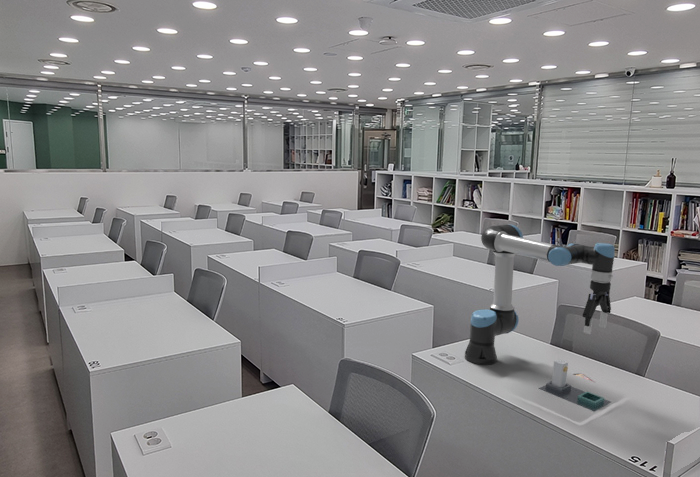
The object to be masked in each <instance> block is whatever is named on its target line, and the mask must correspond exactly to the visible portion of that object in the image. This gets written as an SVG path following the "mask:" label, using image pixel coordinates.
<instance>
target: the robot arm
mask: <svg viewBox="0 0 700 477" xmlns="http://www.w3.org/2000/svg"><path fill="white" fill-rule="evenodd" d="M480 239H481V240H480V241H481V243H482V246H484V247H485V248H486V249H487V250H490V251H492V253H493V254H494V255H495V262H494V267H495V268H494V281H493V282H494V284H493V285H494V286H493V302H492V303H491V304H490V305H489V309H488V308H487V309H486V308H485V309H478V310H477V309H476V310H475V311H473V312H472V314H471V316H470V318H471V319H470V329H469V341H468V344H467V346H466V349H465V351H464V358H465V360H466V361H468V362H469V363H473V364H476V365H484V366H486V365H488V366H489V365H493V364H496V362H497V360H498V356H497V351H496V348H495V338H496V337H497V336H500V335H501V336H502V335H505V334H509V333H512V332H513V331H515V330H516V329H517V327H518V325H519V319H520V318H519V315H518V314H517V311H516V310H515V306H514V305H513V304H512V300H513V298H512V297H513V282H514V261H515V256H516V255H520V256H525V257H529V258H533V259H537V260H541V261H545V262H548V263H551V265H553V266H556V267H564V266H567V265H574V264H587V265H591V266H592V267H591V268H592V269H591V275H590V278H591V279H590V284H589V288H590V290H591V291H593V292H592V293H589V294H588V295H587V296H588V297H587V301H586V303H585V307H584V310H583V311H582V312H583V313H582V318H584V326H583V333H585V334H588V335H591V333H592V329H593V328H592V327H593V326H592V325H593V320H594V319H593V316H594V314H595V311H596V309H597V307H598V306H600V310H601V311H600V316H599V322H598V323H599V324H598V327H599V328H603V329H607V324H608V323H607V322H608V315H609V314H611V312H612V311H611V310H612V306H611V297H610V293H611V285H612V283H611V282H612V278H613V276H614V275H613V269H614V268H613V267H614V260H615V250H616V247H615V245H613V244H612V243H611V244H610V243H604V242H597V243H595V244H594V246H589V245H584V244H579V243H573V242H572V243H568V245H566V246H564V245H563V246H561V245H558V244H553V243H548V242H544V241H540V240H534V239H529V238H524V235H523V233H522V230H520V228H519V227H518V226H516V225H515V224H500V225H490V226H488V227H486V228H485V229H484V230H483V231H482V233H481V236H480Z"/></svg>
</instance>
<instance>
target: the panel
mask: <svg viewBox="0 0 700 477" xmlns="http://www.w3.org/2000/svg"><path fill="white" fill-rule="evenodd" d="M538 390H541V391H544V392H545V393H547V394H548V393H549V394H551V395H553V396H555V397H557V398H561V399H563V400H565V401H568V402H570V403H572V404H574V405H577V406H580V407H582V408H585V409H588V410H589V411H592V412H596V411H598V410H599V409H602V408H603V407H605V406H607V405H609V404H610V403H611V401H610V400H608V399H605V397H603V396H600V395H598V394H595V393H592V392H589V391H584V390H582V389H579V388H577V387H574V386H572V385H571V384H569V383H567V382H566V386H565V387H563V388H559V387H557V386H554V385H552V380H550V381H548V382H545V385H543V386H540V387H538Z"/></svg>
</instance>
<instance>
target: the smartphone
mask: <svg viewBox="0 0 700 477" xmlns="http://www.w3.org/2000/svg"><path fill="white" fill-rule="evenodd" d="M572 375H573V376H576V377H579V378H581V379H585V380H587V381H589V382H593V383H596V381H594V380H593V379H591V378H590V377H588V376H587V375H585V374H583V373H573V374H572Z"/></svg>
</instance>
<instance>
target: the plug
mask: <svg viewBox="0 0 700 477" xmlns="http://www.w3.org/2000/svg"><path fill="white" fill-rule="evenodd" d="M568 366H569V362H568V361H566V360H563V359H560V358H558V359H555V360H554V361H553V367H552V378H551V381H552V385H554V386H557V387H559V388H563V387H565V386H566V383H567V377H568V376H567V375H568Z"/></svg>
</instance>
